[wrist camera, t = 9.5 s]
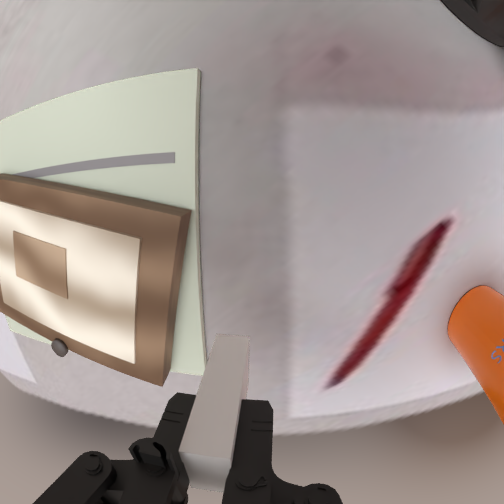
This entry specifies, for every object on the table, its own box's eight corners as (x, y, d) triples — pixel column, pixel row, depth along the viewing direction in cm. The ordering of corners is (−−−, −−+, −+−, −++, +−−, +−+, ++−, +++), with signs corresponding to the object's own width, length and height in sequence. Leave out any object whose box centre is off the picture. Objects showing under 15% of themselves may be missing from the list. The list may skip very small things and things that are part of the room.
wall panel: (-14, 130, 20) (-20, 130, 19) (200, 71, 18) (197, 67, 17) (14, 327, 28) (10, 331, 27) (207, 369, 26) (205, 376, 25)
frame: (2, 173, 20) (-19, 176, 17) (191, 210, 20) (177, 218, 17) (10, 306, 25) (-6, 317, 22) (169, 375, 25) (160, 397, 22)
